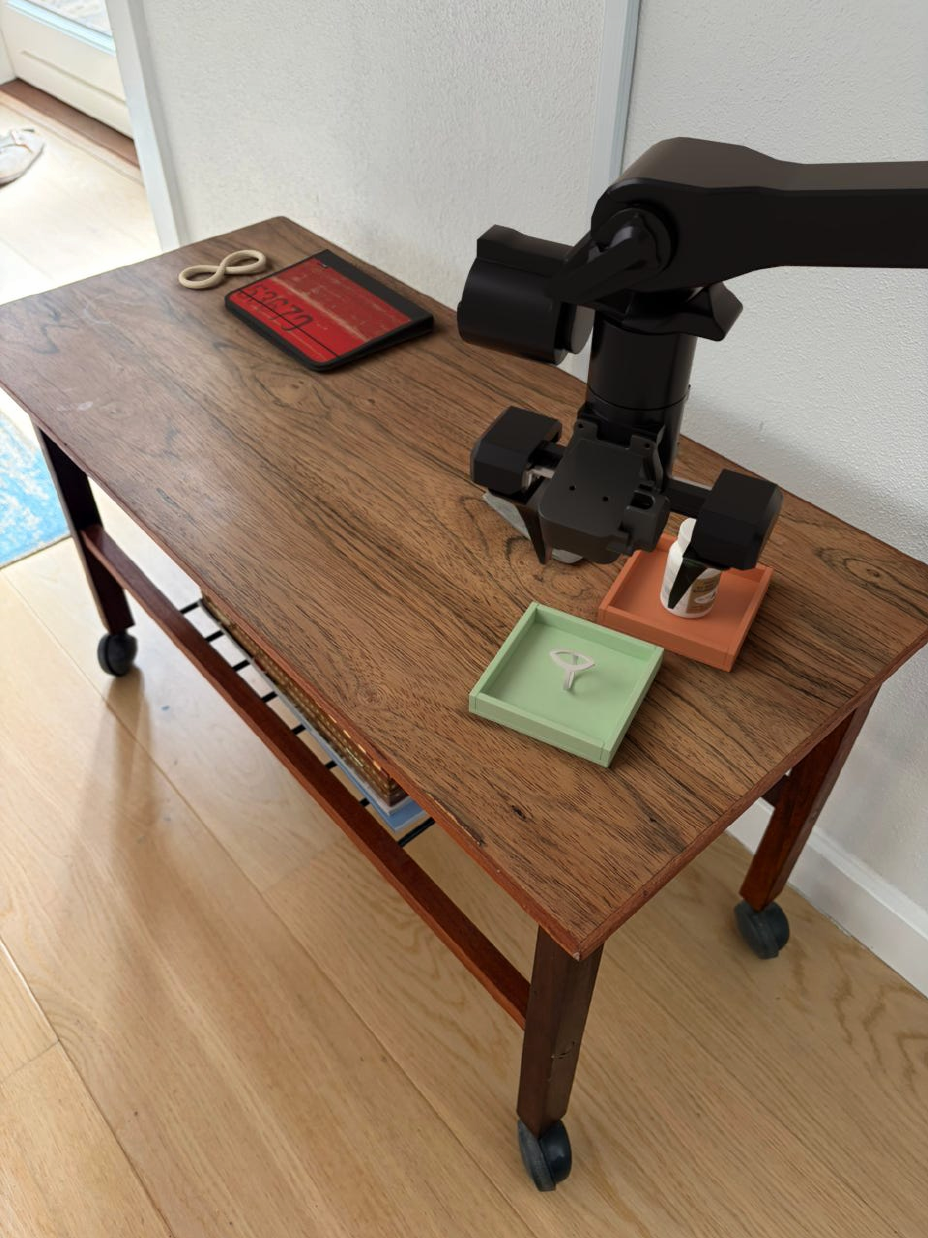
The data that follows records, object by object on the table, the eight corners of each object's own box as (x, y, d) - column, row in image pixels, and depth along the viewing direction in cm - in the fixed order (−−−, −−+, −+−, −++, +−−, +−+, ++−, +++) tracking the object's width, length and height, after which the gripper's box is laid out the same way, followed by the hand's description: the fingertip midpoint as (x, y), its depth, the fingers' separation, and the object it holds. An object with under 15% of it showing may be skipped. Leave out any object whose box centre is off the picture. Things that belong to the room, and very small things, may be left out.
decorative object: (274, 266, 126) (254, 251, 129) (272, 258, 125) (252, 243, 128) (191, 294, 121) (172, 278, 124) (189, 286, 120) (170, 270, 123)
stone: (604, 539, 89) (563, 562, 86) (601, 552, 90) (561, 575, 87) (512, 473, 95) (472, 493, 92) (511, 486, 96) (470, 506, 93)
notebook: (327, 246, 125) (435, 312, 114) (330, 263, 127) (436, 330, 116) (214, 291, 118) (317, 366, 107) (218, 309, 120) (320, 385, 109)
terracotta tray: (768, 585, 87) (774, 568, 85) (729, 672, 80) (734, 655, 78) (644, 544, 90) (647, 527, 89) (596, 624, 83) (598, 607, 82)
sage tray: (660, 665, 80) (664, 648, 79) (607, 768, 73) (610, 751, 72) (531, 618, 84) (532, 600, 82) (468, 711, 77) (468, 694, 75)
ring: (563, 702, 76) (567, 674, 74) (545, 679, 78) (548, 651, 76) (592, 690, 77) (596, 663, 75) (573, 668, 79) (576, 640, 77)
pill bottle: (697, 628, 82) (715, 556, 77) (649, 604, 84) (663, 533, 79) (722, 598, 85) (741, 526, 79) (675, 576, 87) (691, 504, 81)
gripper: (425, 409, 56) (429, 611, 67) (758, 511, 50) (702, 714, 61) (512, 319, 63) (503, 515, 74) (814, 399, 57) (755, 599, 68)
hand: (607, 582), depth 69 cm, fingers open, 9 cm apart
